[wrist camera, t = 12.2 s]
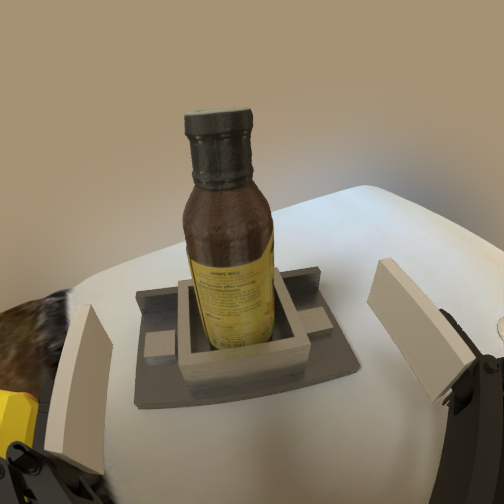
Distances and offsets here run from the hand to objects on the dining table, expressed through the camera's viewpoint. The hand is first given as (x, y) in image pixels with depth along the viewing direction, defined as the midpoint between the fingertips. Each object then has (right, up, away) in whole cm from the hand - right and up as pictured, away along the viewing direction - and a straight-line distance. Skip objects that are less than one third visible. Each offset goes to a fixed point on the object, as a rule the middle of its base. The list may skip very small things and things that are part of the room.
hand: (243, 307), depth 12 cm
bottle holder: (-1, -7, +15) cm, 16 cm away
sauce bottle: (-1, -6, +14) cm, 15 cm away
